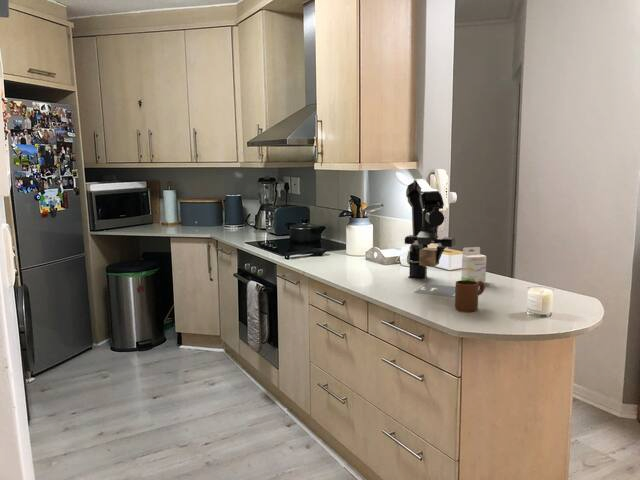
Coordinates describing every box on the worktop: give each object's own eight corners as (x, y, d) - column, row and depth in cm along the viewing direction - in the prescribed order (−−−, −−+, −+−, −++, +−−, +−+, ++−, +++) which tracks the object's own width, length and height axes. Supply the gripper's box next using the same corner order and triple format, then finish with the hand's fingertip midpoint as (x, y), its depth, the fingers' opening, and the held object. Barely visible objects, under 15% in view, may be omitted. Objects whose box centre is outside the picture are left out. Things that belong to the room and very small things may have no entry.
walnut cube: (419, 265, 204) (419, 250, 203) (424, 262, 209) (424, 247, 208) (434, 266, 201) (434, 251, 200) (439, 263, 206) (439, 248, 205)
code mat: (413, 293, 202) (413, 292, 202) (426, 284, 215) (426, 283, 215) (470, 300, 191) (470, 299, 191) (481, 290, 205) (481, 289, 205)
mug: (475, 303, 187) (476, 277, 186) (491, 308, 181) (492, 281, 179) (450, 308, 181) (450, 281, 180) (466, 313, 175) (467, 286, 173)
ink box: (467, 285, 212) (468, 249, 210) (460, 282, 217) (461, 247, 215) (486, 283, 215) (487, 248, 212) (479, 281, 219) (480, 246, 217)
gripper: (399, 224, 200) (399, 264, 203) (447, 226, 191) (446, 268, 194) (409, 221, 210) (409, 259, 212) (456, 223, 201) (455, 263, 203)
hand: (429, 262), depth 205 cm, fingers closed on walnut cube, 6 cm apart
